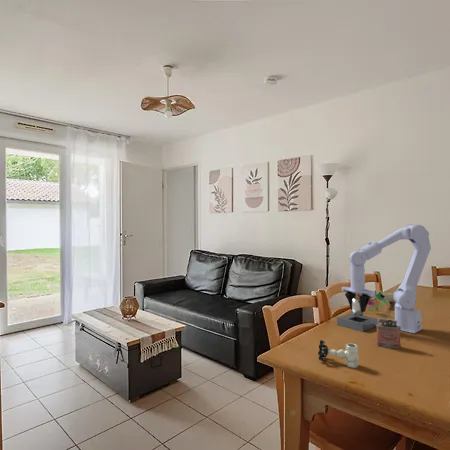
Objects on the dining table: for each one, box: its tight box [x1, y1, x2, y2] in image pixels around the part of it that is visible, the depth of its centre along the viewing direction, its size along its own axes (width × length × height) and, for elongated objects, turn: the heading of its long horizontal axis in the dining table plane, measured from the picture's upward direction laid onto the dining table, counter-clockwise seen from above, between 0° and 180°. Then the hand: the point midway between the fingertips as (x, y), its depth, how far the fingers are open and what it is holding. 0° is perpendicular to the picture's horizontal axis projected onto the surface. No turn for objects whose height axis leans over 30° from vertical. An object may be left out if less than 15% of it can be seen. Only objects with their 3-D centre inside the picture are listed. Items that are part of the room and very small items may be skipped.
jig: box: [336, 312, 379, 333], centre depth 143 cm, size 12×12×3 cm
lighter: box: [375, 318, 402, 349], centre depth 119 cm, size 8×3×10 cm, turn 71°
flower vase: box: [357, 290, 395, 311], centre depth 169 cm, size 12×12×35 cm
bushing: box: [351, 296, 364, 316], centre depth 141 cm, size 4×4×7 cm
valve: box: [317, 339, 360, 369], centre depth 106 cm, size 7×7×12 cm
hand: (357, 310), depth 141 cm, fingers closed on bushing, 4 cm apart
